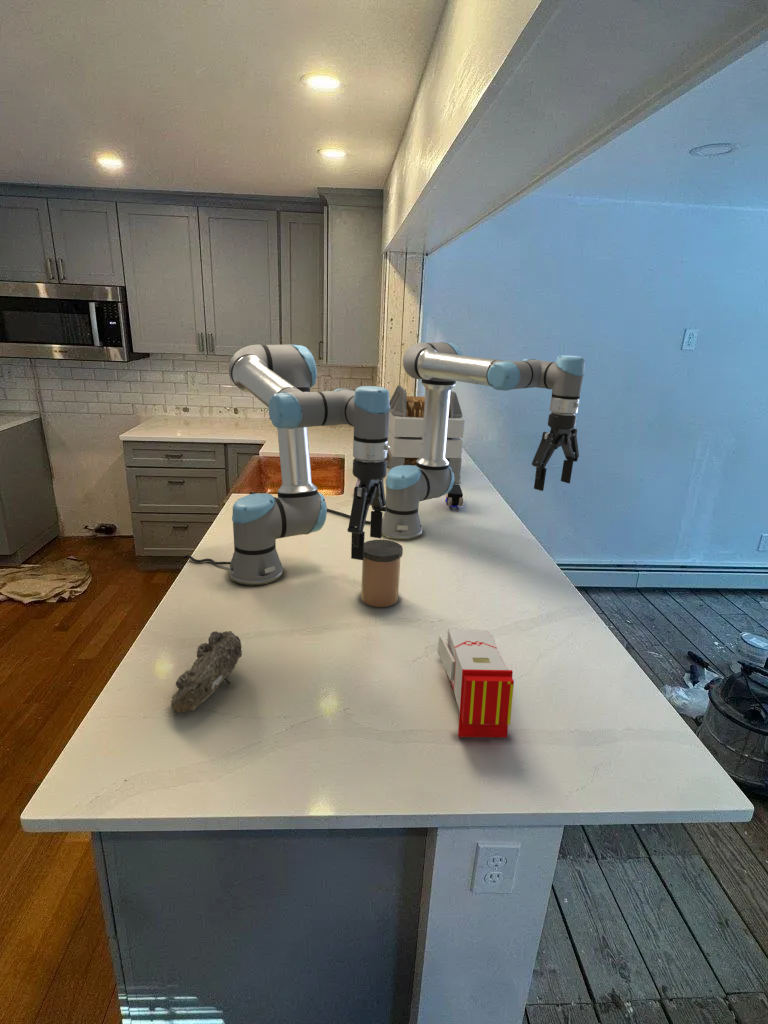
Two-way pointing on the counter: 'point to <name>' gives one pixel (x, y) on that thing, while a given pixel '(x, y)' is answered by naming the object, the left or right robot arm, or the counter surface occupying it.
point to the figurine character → (454, 497)
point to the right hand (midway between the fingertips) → (552, 485)
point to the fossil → (207, 670)
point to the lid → (382, 550)
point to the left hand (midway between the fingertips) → (367, 547)
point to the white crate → (420, 431)
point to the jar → (380, 582)
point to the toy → (478, 682)
